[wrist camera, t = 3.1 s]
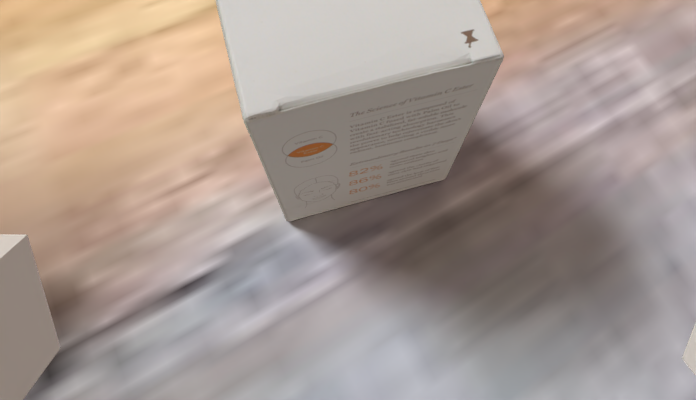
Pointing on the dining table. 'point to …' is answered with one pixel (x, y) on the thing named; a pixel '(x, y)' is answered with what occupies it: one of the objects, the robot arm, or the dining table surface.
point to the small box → (357, 92)
